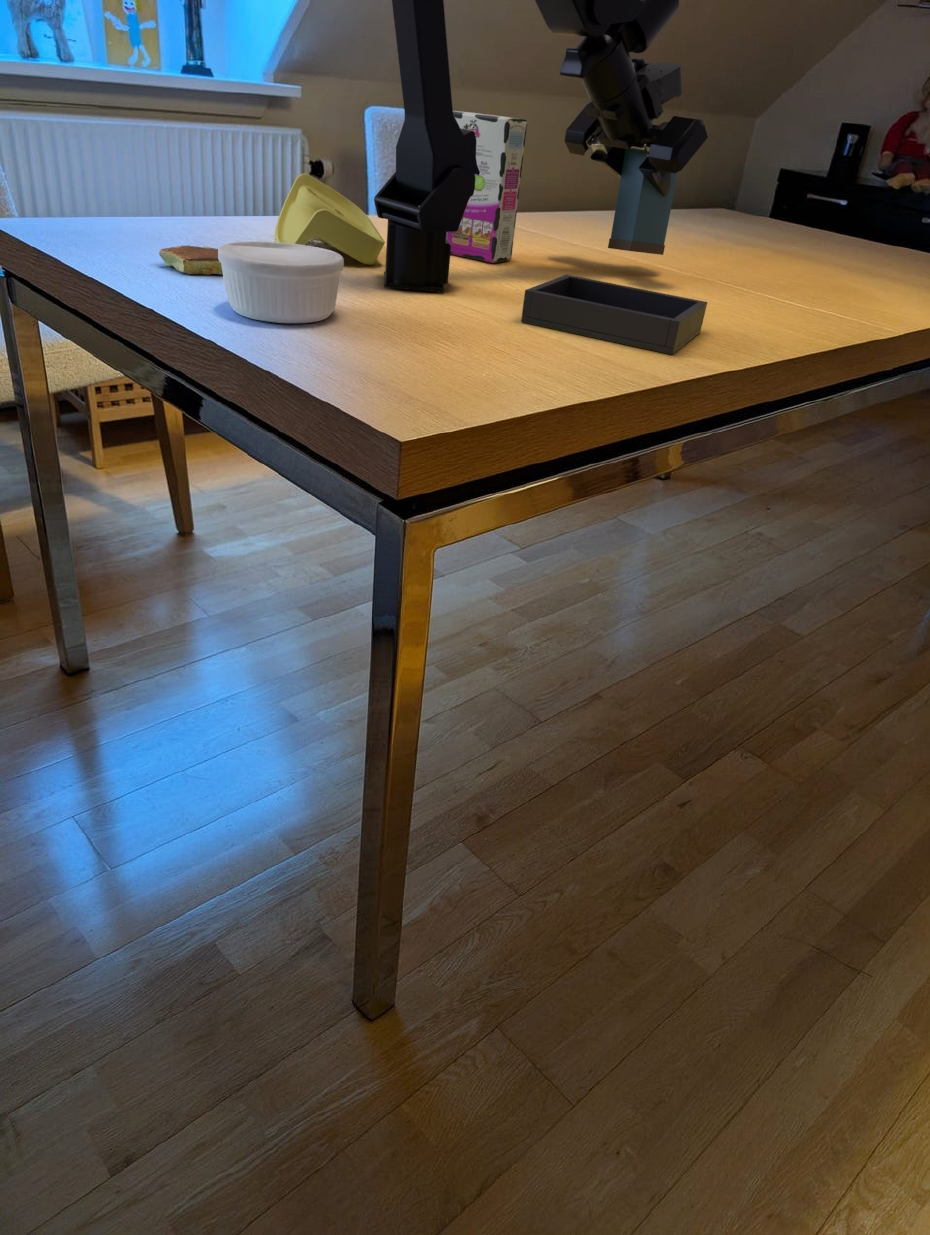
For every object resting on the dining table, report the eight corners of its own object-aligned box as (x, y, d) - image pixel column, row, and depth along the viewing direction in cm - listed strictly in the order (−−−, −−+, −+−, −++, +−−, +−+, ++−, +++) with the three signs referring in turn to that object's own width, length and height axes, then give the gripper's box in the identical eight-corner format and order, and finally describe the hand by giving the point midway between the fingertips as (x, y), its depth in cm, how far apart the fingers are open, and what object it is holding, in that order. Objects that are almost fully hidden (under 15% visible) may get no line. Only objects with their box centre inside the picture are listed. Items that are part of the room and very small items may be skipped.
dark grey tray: (520, 322, 88) (524, 289, 86) (561, 303, 97) (566, 274, 95) (672, 355, 83) (679, 321, 81) (700, 332, 92) (707, 302, 90)
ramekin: (296, 293, 88) (296, 237, 86) (367, 320, 82) (369, 261, 79) (196, 303, 81) (192, 242, 79) (265, 333, 75) (264, 268, 72)
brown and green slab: (282, 277, 94) (281, 259, 93) (236, 287, 88) (235, 268, 87) (201, 259, 98) (200, 242, 97) (152, 268, 92) (150, 249, 91)
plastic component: (388, 247, 102) (311, 200, 97) (358, 303, 105) (282, 261, 100) (361, 206, 117) (293, 164, 112) (335, 257, 120) (267, 218, 115)
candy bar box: (513, 261, 116) (530, 119, 108) (493, 264, 113) (509, 118, 104) (443, 245, 121) (455, 108, 113) (422, 248, 118) (432, 107, 109)
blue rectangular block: (630, 251, 113) (652, 127, 107) (607, 248, 116) (627, 127, 110) (663, 255, 116) (686, 135, 110) (640, 251, 119) (661, 135, 113)
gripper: (719, 35, 96) (751, 153, 108) (597, 27, 108) (638, 134, 120) (656, 112, 96) (695, 222, 108) (540, 96, 107) (587, 197, 119)
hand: (653, 191), depth 114 cm, fingers closed on blue rectangular block, 4 cm apart
